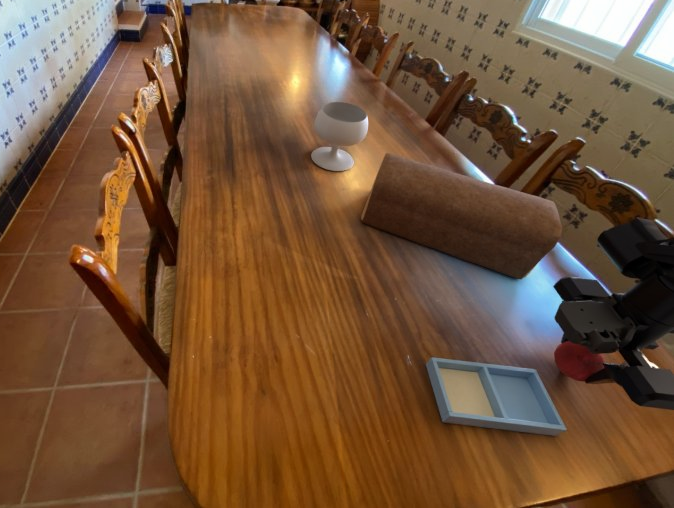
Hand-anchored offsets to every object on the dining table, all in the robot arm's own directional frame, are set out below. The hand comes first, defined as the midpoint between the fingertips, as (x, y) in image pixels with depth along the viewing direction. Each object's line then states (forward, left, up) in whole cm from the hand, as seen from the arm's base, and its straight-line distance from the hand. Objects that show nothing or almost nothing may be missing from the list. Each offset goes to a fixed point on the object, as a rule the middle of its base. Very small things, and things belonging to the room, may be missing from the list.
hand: (575, 362), depth 57 cm
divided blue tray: (-6, +15, -3) cm, 16 cm away
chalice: (+56, +33, -3) cm, 65 cm away
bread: (+30, +11, -3) cm, 32 cm away
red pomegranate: (0, 0, -3) cm, 3 cm away
